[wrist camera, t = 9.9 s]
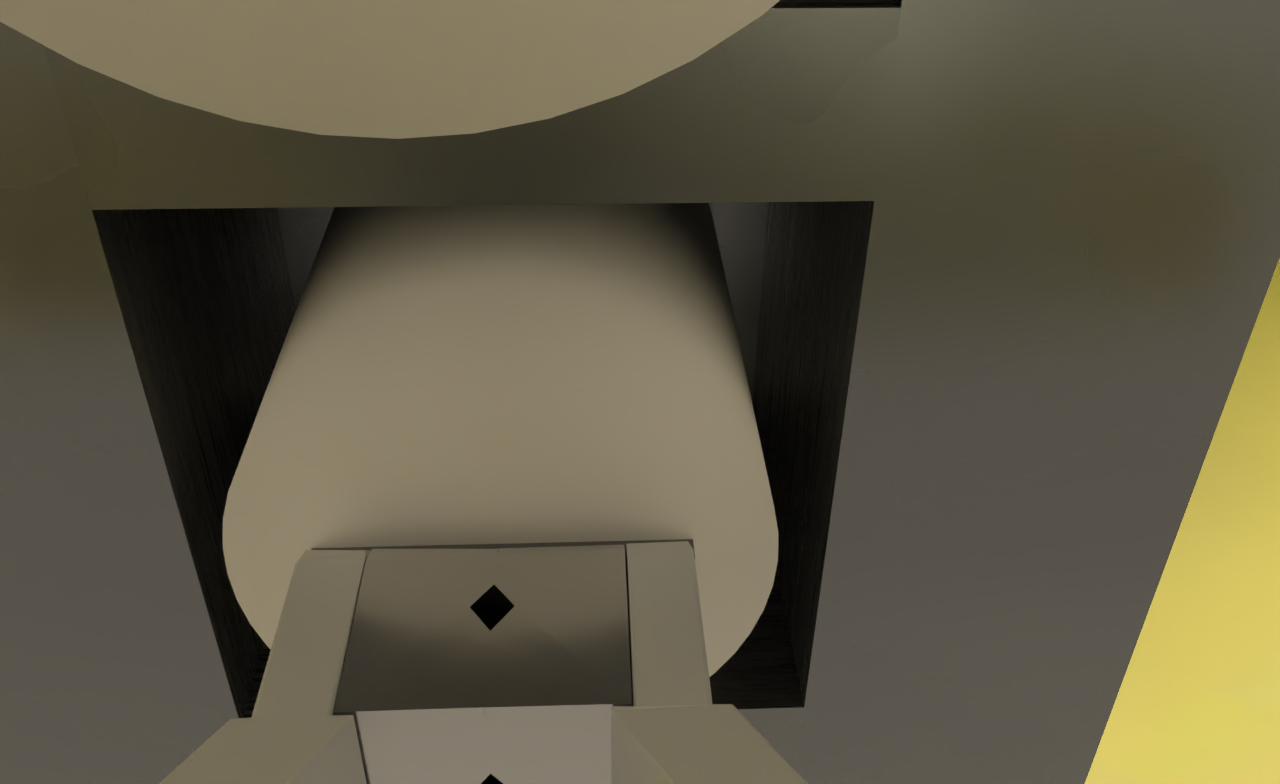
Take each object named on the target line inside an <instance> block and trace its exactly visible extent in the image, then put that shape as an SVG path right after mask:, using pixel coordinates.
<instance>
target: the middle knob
mask: <svg viewBox="0 0 1280 784" xmlns="http://www.w3.org/2000/svg"><path fill="white" fill-rule="evenodd" d="M681 541H688V542H689V544H690V545H691V547H692V548H693V550H694V558H695V566H696V574H697V582H698V590H699V598H700V606H701V614H702V623H703V631H704V639H705V647H706V655H707V663H708V671H709V677H710V676H712V675H713V674H714V673H715V672H716V671H717V670H718V669H719V668H720V667H721V666H722V665H723V664H725V663H726V662H727V661H728V660H729V659H730V658H731V657H732V656H733V655H734V654H735V652H736V651H737V650H738V649H739V647H740V646H741V645H742V643H743V642H744V641H745V640H746V638H747V637H748V636H749V634H750V633H751V632H752V630H753V628H754V626H755V625H756V623H757V621H758V619H759V617H760V616H761V614H762V612H763V610H764V608H765V605H766V603H767V600H768V597H769V595H770V592H771V590H772V587H773V583H774V578H775V573H776V568H777V563H778V528H777V521H776V515H775V509H774V504H773V499H772V494H771V490H770V485H769V480H768V475H767V471H766V466H765V461H764V457H763V452H762V447H761V442H760V438H759V433H758V428H757V424H756V419H755V414H754V409H753V405H752V400H751V395H750V390H749V386H748V381H747V376H746V372H745V367H744V362H743V357H742V353H741V348H740V343H739V338H738V334H737V329H736V324H735V320H734V315H733V310H732V305H731V301H730V296H729V291H728V287H727V282H726V277H725V272H724V268H723V263H722V258H721V253H720V249H719V244H718V239H717V235H716V230H715V225H714V220H713V216H712V213H711V210H710V207H709V203H650V204H562V205H474V206H386V207H334V210H333V212H332V215H331V218H330V220H329V223H328V226H327V228H326V231H325V234H324V236H323V239H322V242H321V244H320V247H319V250H318V252H317V255H316V258H315V261H314V263H313V266H312V269H311V271H310V274H309V277H308V279H307V282H306V285H305V287H304V290H303V293H302V295H301V298H300V301H299V303H298V306H297V309H296V311H295V314H294V317H293V319H292V322H291V325H290V327H289V330H288V333H287V335H286V338H285V341H284V344H283V346H282V349H281V352H280V354H279V357H278V360H277V362H276V365H275V368H274V370H273V373H272V376H271V378H270V381H269V384H268V386H267V389H266V392H265V394H264V397H263V400H262V402H261V405H260V408H259V410H258V413H257V416H256V418H255V421H254V424H253V427H252V429H251V432H250V435H249V437H248V440H247V443H246V445H245V448H244V451H243V453H242V456H241V459H240V461H239V464H238V467H237V469H236V472H235V475H234V477H233V480H232V483H231V485H230V488H229V491H228V495H227V500H226V505H225V510H224V516H223V552H224V558H225V564H226V569H227V574H228V577H229V580H230V583H231V585H232V588H233V591H234V594H235V596H236V599H237V601H238V603H239V605H240V606H241V608H242V610H243V612H244V614H245V616H246V617H247V619H248V621H249V623H250V624H251V626H252V627H253V628H254V630H255V631H256V632H257V633H258V635H259V636H260V637H261V639H262V640H263V641H264V643H265V644H266V645H267V646H268V647H269V648H270V650H271V647H272V644H273V640H274V637H275V633H276V630H277V626H278V623H279V619H280V616H281V612H282V609H283V605H284V602H285V598H286V595H287V591H288V588H289V584H290V581H291V577H292V574H293V571H294V567H295V564H296V563H297V561H298V560H299V559H300V557H301V556H302V555H303V553H304V552H305V551H306V550H369V551H371V550H372V549H499V548H528V547H561V546H593V545H624V548H626V544H630V543H656V542H681Z"/></svg>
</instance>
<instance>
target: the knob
mask: <svg viewBox="0 0 1280 784" xmlns="http://www.w3.org/2000/svg"><path fill="white" fill-rule="evenodd" d="M779 1H780V0H0V22H2V23H3V24H5V25H7V26H9V27H11V28H13V29H15V30H16V31H18V32H20V33H22V34H24V35H26V36H28V37H29V38H31V39H33V40H35V41H37V42H39V43H40V44H42V45H44V46H46V47H48V48H50V49H52V50H53V51H55V52H57V53H59V54H61V55H63V56H65V57H66V58H68V59H70V60H72V61H74V62H76V63H78V64H80V65H82V66H85V67H87V68H89V69H92V70H94V71H97V72H99V73H102V74H104V75H106V76H109V77H111V78H114V79H116V80H118V81H121V82H123V83H126V84H128V85H131V86H133V87H135V88H138V89H140V90H143V91H145V92H147V93H150V94H152V95H155V96H157V97H160V98H163V99H166V100H170V101H173V102H177V103H180V104H183V105H187V106H190V107H194V108H197V109H201V110H204V111H207V112H211V113H214V114H218V115H221V116H225V117H228V118H231V119H235V120H238V121H243V122H248V123H254V124H260V125H266V126H272V127H277V128H283V129H289V130H295V131H301V132H307V133H312V134H318V135H333V136H353V137H372V138H391V139H403V138H417V137H431V136H446V135H460V134H474V133H479V132H484V131H489V130H495V129H500V128H505V127H510V126H515V125H520V124H525V123H530V122H535V121H540V120H545V119H550V118H553V117H556V116H559V115H562V114H565V113H568V112H571V111H574V110H577V109H580V108H583V107H586V106H589V105H592V104H595V103H598V102H601V101H604V100H607V99H610V98H613V97H616V96H619V95H622V94H624V93H626V92H628V91H630V90H632V89H634V88H636V87H638V86H640V85H643V84H645V83H647V82H649V81H651V80H653V79H655V78H657V77H659V76H661V75H663V74H665V73H667V72H669V71H672V70H674V69H676V68H678V67H680V66H682V65H684V64H686V63H688V62H690V61H692V60H694V59H696V58H697V57H699V56H700V55H702V54H703V53H705V52H706V51H708V50H709V49H711V48H713V47H714V46H716V45H717V44H719V43H720V42H722V41H723V40H725V39H726V38H728V37H730V36H731V35H733V34H734V33H736V32H737V31H739V30H740V29H742V28H743V27H745V26H747V25H748V24H750V23H751V22H753V21H754V20H756V19H757V18H759V17H760V16H762V15H763V14H764V13H765V12H767V11H768V10H769V9H770V8H771V7H773V6H774V5H775V4H776V3H777V2H779Z"/></svg>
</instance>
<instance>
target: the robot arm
mask: <svg viewBox="0 0 1280 784" xmlns="http://www.w3.org/2000/svg"><path fill="white" fill-rule="evenodd" d="M159 784H808V783H807V782H806V781H805V780H804V779H803V778H802V776H801V775H800V774H799V773H798V772H797V771H796V770H795V769H794V768H793V767H792V766H791V765H790V764H789V763H788V762H787V761H786V760H785V759H784V758H783V757H782V756H781V754H780V753H779V752H778V751H777V750H776V749H775V748H774V747H773V746H772V745H771V744H770V743H769V742H768V741H767V740H766V739H765V738H764V737H763V736H762V735H761V734H760V733H759V731H758V730H757V729H756V728H755V727H754V726H753V725H752V724H751V723H750V722H749V721H748V720H747V719H746V718H745V717H744V716H743V715H742V714H741V713H740V712H739V711H738V709H737V708H736V707H735V706H734V705H733V704H712V696H711V687H710V679H709V671H708V663H707V655H706V647H705V639H704V631H703V623H702V614H701V606H700V598H699V590H698V582H697V574H696V566H695V558H694V550H693V548H692V547H691V545H690V544H689V542H688V541H681V542H656V543H630V544H626V548H624V545H593V546H561V547H528V548H499V549H372V550H371V551H369V550H306V551H305V552H304V553H303V555H302V556H301V557H300V559H299V560H298V561H297V563H296V564H295V567H294V571H293V574H292V577H291V581H290V584H289V588H288V591H287V595H286V598H285V602H284V605H283V609H282V612H281V616H280V619H279V623H278V626H277V630H276V633H275V637H274V640H273V644H272V647H271V651H270V654H269V658H268V661H267V665H266V668H265V671H264V675H263V678H262V682H261V685H260V689H259V692H258V696H257V699H256V703H255V706H254V710H253V713H252V717H251V718H234V719H230V720H229V721H227V722H226V723H225V724H224V725H223V726H222V727H221V728H220V729H219V730H217V731H216V732H215V733H214V734H213V735H212V736H211V737H210V738H209V739H207V740H206V741H205V742H204V743H203V744H202V745H201V746H200V747H199V748H197V749H196V750H195V751H194V752H193V753H192V754H191V755H190V756H189V757H187V758H186V759H185V760H184V761H183V762H182V763H181V764H180V765H179V766H177V767H176V768H175V769H174V770H173V771H172V772H171V773H170V774H169V775H167V776H166V777H165V778H164V779H163V780H162V781H161V782H160V783H159Z"/></svg>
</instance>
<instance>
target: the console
mask: <svg viewBox="0 0 1280 784" xmlns="http://www.w3.org/2000/svg"><path fill="white" fill-rule="evenodd" d="M650 203H709V207H710V210H711V213H712V216H713V220H714V225H715V230H716V235H717V239H718V244H719V249H720V253H721V258H722V263H723V268H724V272H725V277H726V282H727V287H728V291H729V296H730V301H731V305H732V310H733V315H734V320H735V324H736V329H737V334H738V338H739V343H740V348H741V353H742V357H743V362H744V367H745V372H746V376H747V381H748V386H749V390H750V395H751V400H752V405H753V409H754V414H755V419H756V424H757V428H758V433H759V438H760V442H761V447H762V452H763V457H764V461H765V466H766V471H767V475H768V480H769V485H770V490H771V494H772V499H773V504H774V509H775V515H776V521H777V528H778V563H777V568H776V573H775V578H774V583H773V587H772V590H771V592H770V595H769V597H768V600H767V603H766V605H765V608H764V610H763V612H762V614H761V616H760V617H759V619H758V621H757V623H756V625H755V626H754V628H753V630H752V632H751V633H750V634H749V636H748V637H747V638H746V640H745V641H744V642H743V643H742V645H741V646H740V647H739V649H738V650H737V651H736V652H735V654H734V655H733V656H732V657H731V658H730V659H729V660H728V661H727V662H726V663H725V664H723V665H722V666H721V667H720V668H719V669H718V670H717V671H716V672H715V673H714V674H713V675H712V676H710V677H709V679H710V687H711V696H712V704H733V705H734V706H735V707H736V708H737V709H738V711H739V712H740V713H741V714H742V715H743V716H744V717H745V718H746V719H747V720H748V721H749V722H750V723H751V724H752V725H753V726H754V727H755V728H756V729H757V730H758V731H759V733H760V734H761V735H762V736H763V737H764V738H765V739H766V740H767V741H768V742H769V743H770V744H771V745H772V746H773V747H774V748H775V749H776V750H777V751H778V752H779V753H780V754H781V756H782V757H783V758H784V759H785V760H786V761H787V762H788V763H789V764H790V765H791V766H792V767H793V768H794V769H795V770H796V771H797V772H798V773H799V774H800V775H801V776H802V778H803V779H804V780H805V781H806V782H807V783H808V784H1084V783H1085V781H1086V778H1087V775H1088V772H1089V770H1090V767H1091V764H1092V762H1093V759H1094V756H1095V754H1096V751H1097V748H1098V745H1099V743H1100V740H1101V737H1102V735H1103V732H1104V729H1105V727H1106V724H1107V721H1108V718H1109V716H1110V713H1111V710H1112V708H1113V705H1114V702H1115V700H1116V697H1117V694H1118V691H1119V689H1120V686H1121V683H1122V681H1123V678H1124V675H1125V673H1126V670H1127V667H1128V664H1129V662H1130V659H1131V656H1132V654H1133V651H1134V648H1135V646H1136V643H1137V640H1138V637H1139V635H1140V632H1141V629H1142V627H1143V624H1144V621H1145V619H1146V616H1147V613H1148V610H1149V608H1150V605H1151V602H1152V600H1153V597H1154V594H1155V592H1156V589H1157V586H1158V583H1159V581H1160V578H1161V575H1162V573H1163V570H1164V567H1165V565H1166V562H1167V559H1168V556H1169V554H1170V551H1171V548H1172V546H1173V543H1174V540H1175V538H1176V535H1177V532H1178V529H1179V527H1180V524H1181V521H1182V519H1183V516H1184V513H1185V511H1186V508H1187V505H1188V502H1189V500H1190V497H1191V494H1192V492H1193V489H1194V486H1195V484H1196V481H1197V478H1198V475H1199V473H1200V470H1201V467H1202V465H1203V462H1204V459H1205V457H1206V454H1207V451H1208V448H1209V446H1210V443H1211V440H1212V438H1213V435H1214V432H1215V430H1216V427H1217V424H1218V421H1219V419H1220V416H1221V413H1222V411H1223V408H1224V405H1225V403H1226V400H1227V397H1228V394H1229V392H1230V389H1231V386H1232V384H1233V381H1234V378H1235V376H1236V373H1237V370H1238V368H1239V365H1240V362H1241V359H1242V357H1243V354H1244V351H1245V349H1246V346H1247V343H1248V341H1249V338H1250V335H1251V332H1252V330H1253V327H1254V324H1255V322H1256V319H1257V316H1258V314H1259V311H1260V308H1261V305H1262V303H1263V300H1264V297H1265V295H1266V292H1267V289H1268V287H1269V284H1270V281H1271V278H1272V276H1273V273H1274V270H1275V268H1276V265H1277V262H1278V260H1279V257H1280V0H780V1H779V2H777V3H776V4H775V5H774V6H773V7H771V8H770V9H769V10H768V11H767V12H765V13H764V14H763V15H762V16H760V17H759V18H757V19H756V20H754V21H753V22H751V23H750V24H748V25H747V26H745V27H743V28H742V29H740V30H739V31H737V32H736V33H734V34H733V35H731V36H730V37H728V38H726V39H725V40H723V41H722V42H720V43H719V44H717V45H716V46H714V47H713V48H711V49H709V50H708V51H706V52H705V53H703V54H702V55H700V56H699V57H697V58H696V59H694V60H692V61H690V62H688V63H686V64H684V65H682V66H680V67H678V68H676V69H674V70H672V71H669V72H667V73H665V74H663V75H661V76H659V77H657V78H655V79H653V80H651V81H649V82H647V83H645V84H643V85H640V86H638V87H636V88H634V89H632V90H630V91H628V92H626V93H624V94H622V95H619V96H616V97H613V98H610V99H607V100H604V101H601V102H598V103H595V104H592V105H589V106H586V107H583V108H580V109H577V110H574V111H571V112H568V113H565V114H562V115H559V116H556V117H553V118H550V119H545V120H540V121H535V122H530V123H525V124H520V125H515V126H510V127H505V128H500V129H495V130H489V131H484V132H479V133H474V134H460V135H446V136H431V137H417V138H403V139H391V138H372V137H353V136H333V135H318V134H312V133H307V132H301V131H295V130H289V129H283V128H277V127H272V126H266V125H260V124H254V123H248V122H243V121H238V120H235V119H231V118H228V117H225V116H221V115H218V114H214V113H211V112H207V111H204V110H201V109H197V108H194V107H190V106H187V105H183V104H180V103H177V102H173V101H170V100H166V99H163V98H160V97H157V96H155V95H152V94H150V93H147V92H145V91H143V90H140V89H138V88H135V87H133V86H131V85H128V84H126V83H123V82H121V81H118V80H116V79H114V78H111V77H109V76H106V75H104V74H102V73H99V72H97V71H94V70H92V69H89V68H87V67H85V66H82V65H80V64H78V63H76V62H74V61H72V60H70V59H68V58H66V57H65V56H63V55H61V54H59V53H57V52H55V51H53V50H52V49H50V48H48V47H46V46H44V45H42V44H40V43H39V42H37V41H35V40H33V39H31V38H29V37H28V36H26V35H24V34H22V33H20V32H18V31H16V30H15V29H13V28H11V27H9V26H7V25H5V24H3V23H2V22H0V784H159V783H160V782H161V781H162V780H163V779H164V778H165V777H166V776H167V775H169V774H170V773H171V772H172V771H173V770H174V769H175V768H176V767H177V766H179V765H180V764H181V763H182V762H183V761H184V760H185V759H186V758H187V757H189V756H190V755H191V754H192V753H193V752H194V751H195V750H196V749H197V748H199V747H200V746H201V745H202V744H203V743H204V742H205V741H206V740H207V739H209V738H210V737H211V736H212V735H213V734H214V733H215V732H216V731H217V730H219V729H220V728H221V727H222V726H223V725H224V724H225V723H226V722H227V721H229V720H230V719H234V718H251V717H252V713H253V710H254V706H255V703H256V699H257V696H258V692H259V689H260V685H261V682H262V678H263V675H264V671H265V668H266V665H267V661H268V658H269V654H270V651H271V650H270V648H269V647H268V646H267V645H266V644H265V643H264V641H263V640H262V639H261V637H260V636H259V635H258V633H257V632H256V631H255V630H254V628H253V627H252V626H251V624H250V623H249V621H248V619H247V617H246V616H245V614H244V612H243V610H242V608H241V606H240V605H239V603H238V601H237V599H236V596H235V594H234V591H233V588H232V585H231V583H230V580H229V577H228V574H227V569H226V564H225V558H224V552H223V516H224V510H225V505H226V500H227V495H228V491H229V488H230V485H231V483H232V480H233V477H234V475H235V472H236V469H237V467H238V464H239V461H240V459H241V456H242V453H243V451H244V448H245V445H246V443H247V440H248V437H249V435H250V432H251V429H252V427H253V424H254V421H255V418H256V416H257V413H258V410H259V408H260V405H261V402H262V400H263V397H264V394H265V392H266V389H267V386H268V384H269V381H270V378H271V376H272V373H273V370H274V368H275V365H276V362H277V360H278V357H279V354H280V352H281V349H282V346H283V344H284V341H285V338H286V335H287V333H288V330H289V327H290V325H291V322H292V319H293V317H294V314H295V311H296V309H297V306H298V303H299V301H300V298H301V295H302V293H303V290H304V287H305V285H306V282H307V279H308V277H309V274H310V271H311V269H312V266H313V263H314V261H315V258H316V255H317V252H318V250H319V247H320V244H321V242H322V239H323V236H324V234H325V231H326V228H327V226H328V223H329V220H330V218H331V215H332V212H333V210H334V207H386V206H474V205H562V204H650Z"/></svg>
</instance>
